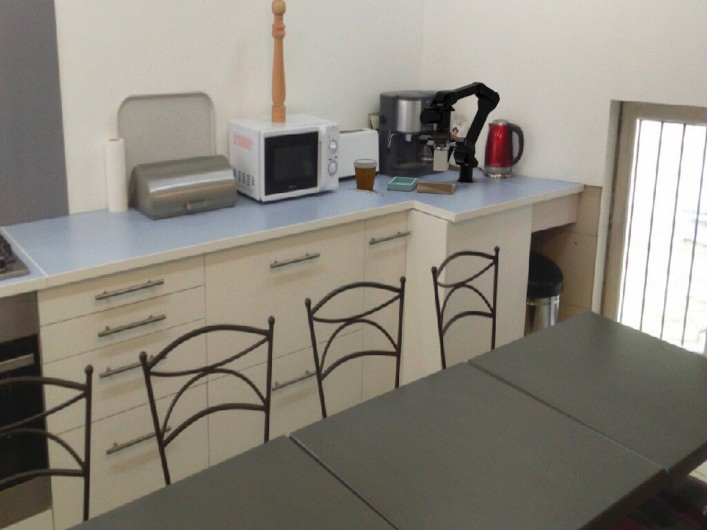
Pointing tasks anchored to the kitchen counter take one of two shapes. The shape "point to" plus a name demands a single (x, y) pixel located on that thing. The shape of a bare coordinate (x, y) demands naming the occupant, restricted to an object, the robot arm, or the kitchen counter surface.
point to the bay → (435, 187)
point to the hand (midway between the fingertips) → (441, 161)
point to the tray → (402, 184)
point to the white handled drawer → (441, 159)
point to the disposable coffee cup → (365, 173)
